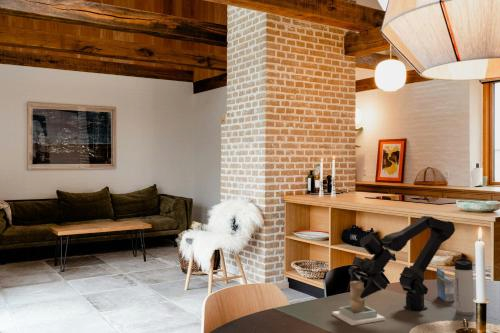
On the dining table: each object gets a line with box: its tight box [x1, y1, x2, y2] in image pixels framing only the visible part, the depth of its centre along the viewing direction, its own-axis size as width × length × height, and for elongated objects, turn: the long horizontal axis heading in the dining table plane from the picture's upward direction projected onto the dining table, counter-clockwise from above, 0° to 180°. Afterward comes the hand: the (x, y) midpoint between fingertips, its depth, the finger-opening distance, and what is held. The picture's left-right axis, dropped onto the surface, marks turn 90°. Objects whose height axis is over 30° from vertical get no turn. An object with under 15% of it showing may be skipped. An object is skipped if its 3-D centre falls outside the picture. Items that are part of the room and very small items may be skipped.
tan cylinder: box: [349, 281, 366, 313], centre depth 179 cm, size 5×5×12 cm
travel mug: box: [454, 257, 475, 316], centre depth 180 cm, size 6×7×20 cm
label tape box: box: [436, 267, 455, 303], centre depth 199 cm, size 9×4×12 cm, turn 179°
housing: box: [331, 305, 386, 326], centre depth 179 cm, size 14×14×3 cm
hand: (354, 294), depth 178 cm, fingers open, 9 cm apart
